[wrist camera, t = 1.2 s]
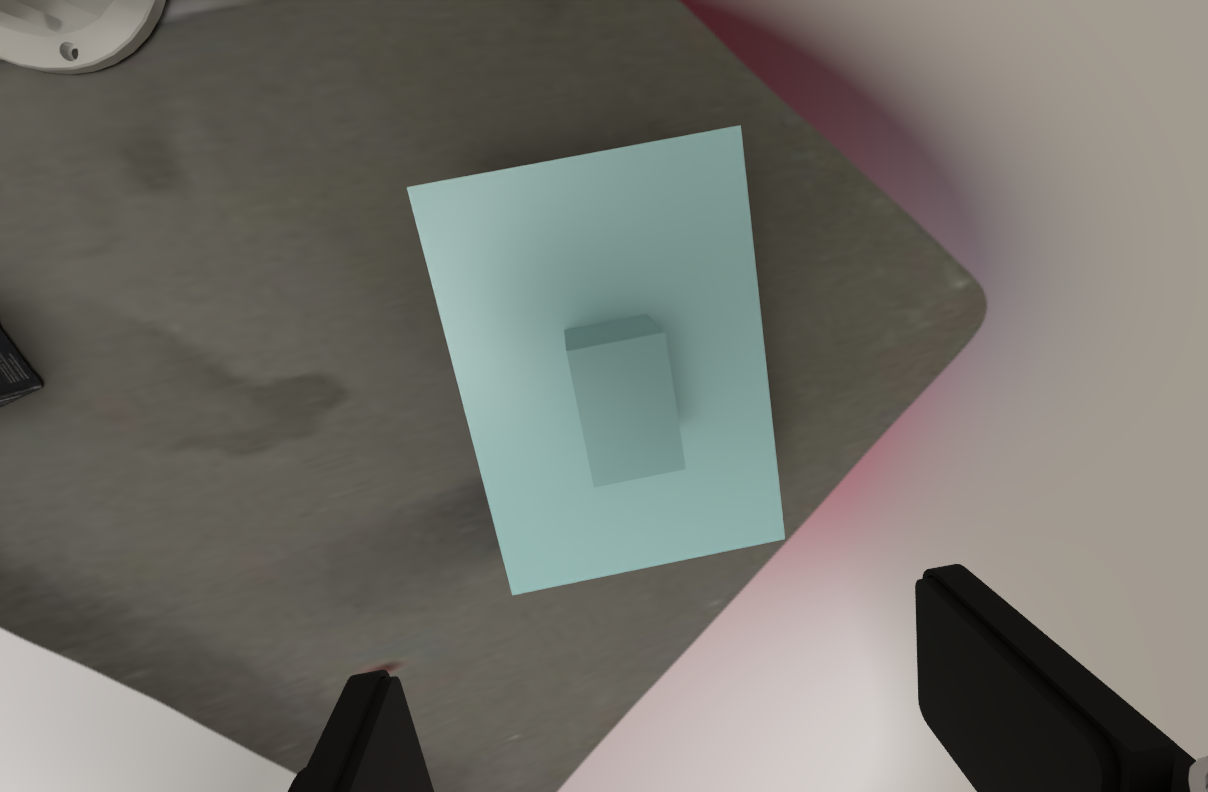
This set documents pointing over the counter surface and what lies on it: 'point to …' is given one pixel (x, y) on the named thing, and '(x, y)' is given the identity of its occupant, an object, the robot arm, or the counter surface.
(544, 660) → the counter surface
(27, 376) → the small box
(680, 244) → the lid
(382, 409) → the counter surface
